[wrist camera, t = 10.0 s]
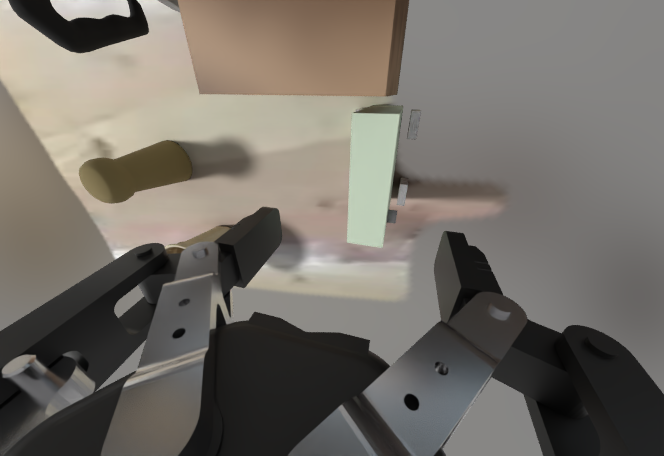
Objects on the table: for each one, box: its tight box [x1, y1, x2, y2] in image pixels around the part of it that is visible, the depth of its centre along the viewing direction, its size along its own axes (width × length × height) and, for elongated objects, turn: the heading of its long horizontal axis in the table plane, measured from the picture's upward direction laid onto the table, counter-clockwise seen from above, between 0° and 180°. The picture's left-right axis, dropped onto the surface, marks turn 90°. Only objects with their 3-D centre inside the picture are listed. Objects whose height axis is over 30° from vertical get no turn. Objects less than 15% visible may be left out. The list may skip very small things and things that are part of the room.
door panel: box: [347, 105, 403, 248], centre depth 22 cm, size 10×4×11 cm, turn 0°
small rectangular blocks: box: [356, 108, 421, 206], centre depth 25 cm, size 9×6×2 cm, turn 179°
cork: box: [79, 140, 192, 203], centre depth 30 cm, size 6×6×11 cm
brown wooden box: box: [178, 0, 409, 96], centre depth 16 cm, size 10×11×14 cm
